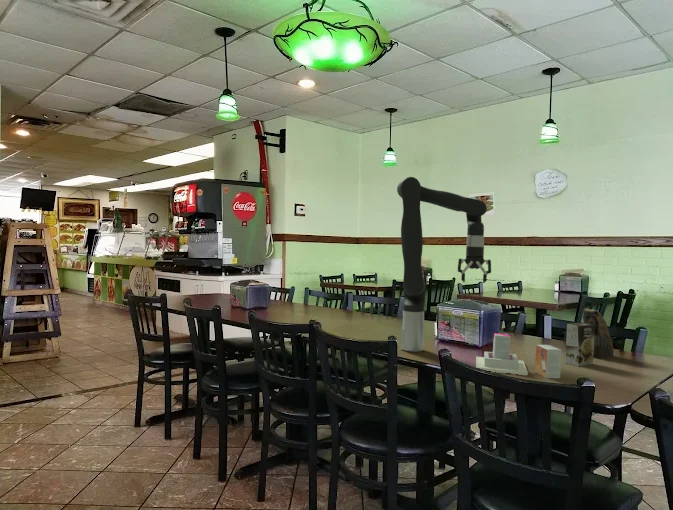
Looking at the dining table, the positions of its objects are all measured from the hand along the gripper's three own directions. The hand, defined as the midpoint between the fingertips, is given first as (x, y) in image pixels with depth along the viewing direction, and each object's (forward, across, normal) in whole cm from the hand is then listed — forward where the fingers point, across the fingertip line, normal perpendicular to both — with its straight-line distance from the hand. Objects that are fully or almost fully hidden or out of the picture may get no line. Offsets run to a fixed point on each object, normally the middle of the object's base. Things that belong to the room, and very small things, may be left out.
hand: (473, 282), depth 214 cm
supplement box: (+29, +11, -27) cm, 41 cm away
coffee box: (+30, +42, -9) cm, 53 cm away
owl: (+30, +53, +10) cm, 62 cm away
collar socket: (+30, +11, -27) cm, 42 cm away
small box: (+30, +27, -33) cm, 52 cm away
